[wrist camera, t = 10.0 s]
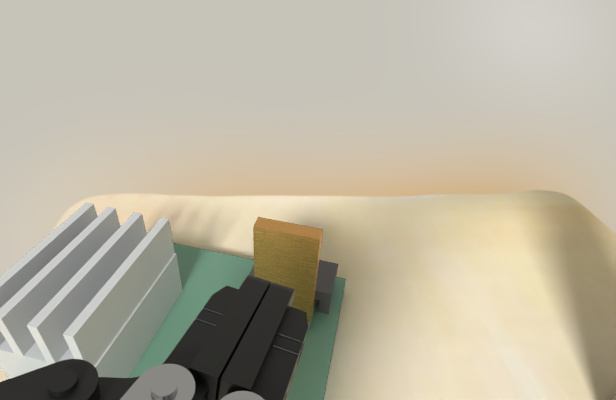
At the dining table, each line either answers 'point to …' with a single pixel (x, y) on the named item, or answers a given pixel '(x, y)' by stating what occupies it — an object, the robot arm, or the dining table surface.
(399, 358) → the dining table surface
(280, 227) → the upright wooden plank
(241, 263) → the heatsink board
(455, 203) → the dining table surface
